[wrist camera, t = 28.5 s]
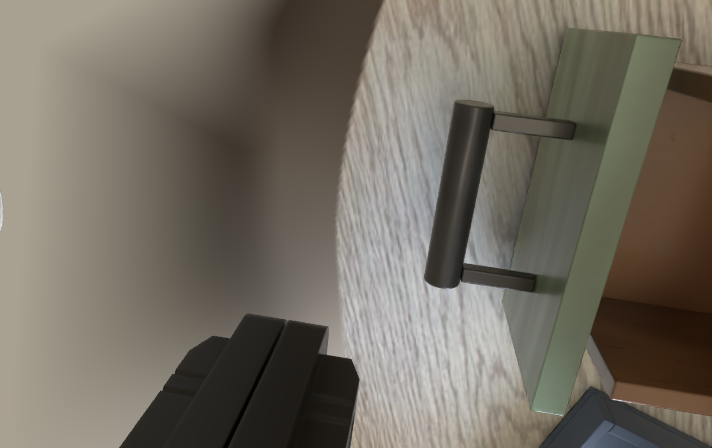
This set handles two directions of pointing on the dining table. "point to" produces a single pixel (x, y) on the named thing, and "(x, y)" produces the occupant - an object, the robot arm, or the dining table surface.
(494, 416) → the dining table surface
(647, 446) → the tray
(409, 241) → the dining table surface
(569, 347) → the drawer
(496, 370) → the dining table surface
